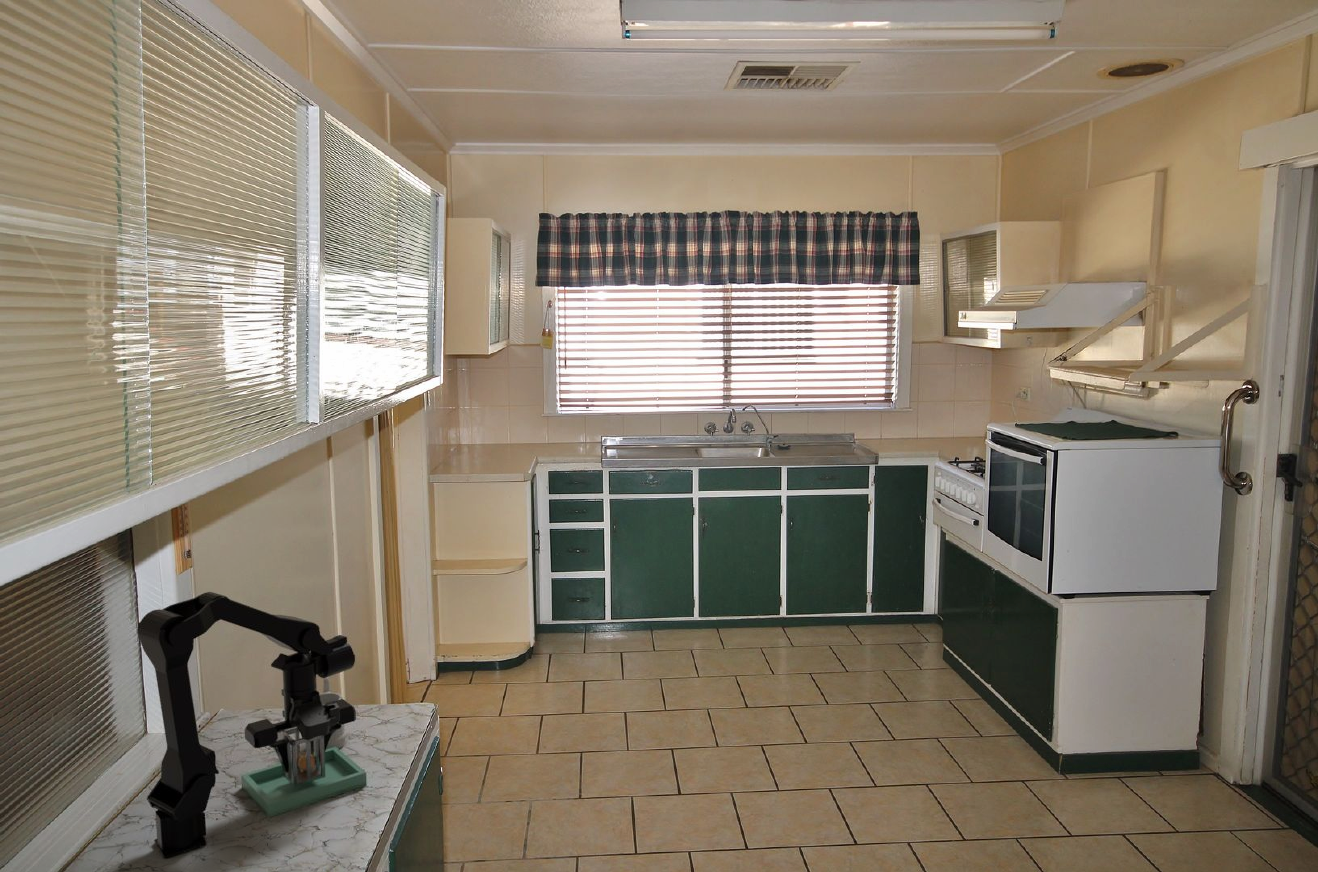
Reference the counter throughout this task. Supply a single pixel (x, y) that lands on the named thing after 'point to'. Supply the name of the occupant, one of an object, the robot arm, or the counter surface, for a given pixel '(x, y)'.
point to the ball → (303, 762)
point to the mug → (340, 734)
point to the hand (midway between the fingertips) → (303, 766)
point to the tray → (283, 796)
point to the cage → (295, 773)
